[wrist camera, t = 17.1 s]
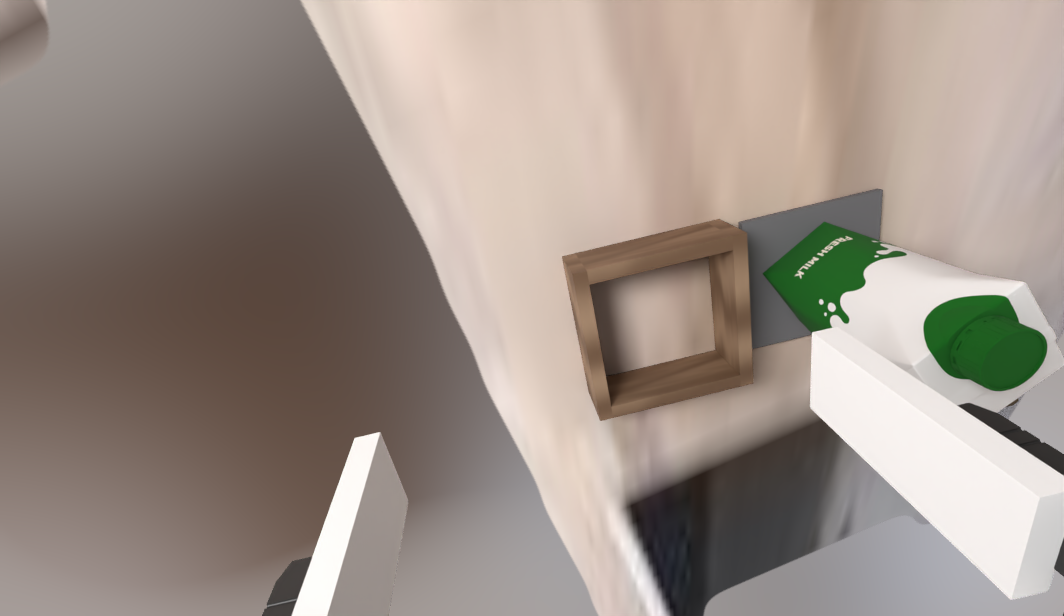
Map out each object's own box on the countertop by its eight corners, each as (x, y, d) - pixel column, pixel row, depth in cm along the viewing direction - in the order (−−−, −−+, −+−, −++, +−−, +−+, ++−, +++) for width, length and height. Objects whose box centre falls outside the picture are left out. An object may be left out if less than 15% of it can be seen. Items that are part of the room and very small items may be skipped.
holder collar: (562, 256, 45) (572, 274, 40) (718, 219, 45) (747, 232, 40) (588, 391, 50) (600, 420, 46) (727, 357, 51) (753, 383, 46)
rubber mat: (738, 221, 45) (742, 223, 45) (877, 188, 45) (882, 189, 45) (744, 347, 50) (747, 350, 50) (869, 316, 51) (874, 319, 50)
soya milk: (827, 206, 45) (1073, 279, 27) (872, 274, 48) (1121, 381, 30) (748, 273, 47) (928, 385, 28) (797, 334, 50) (988, 471, 31)
